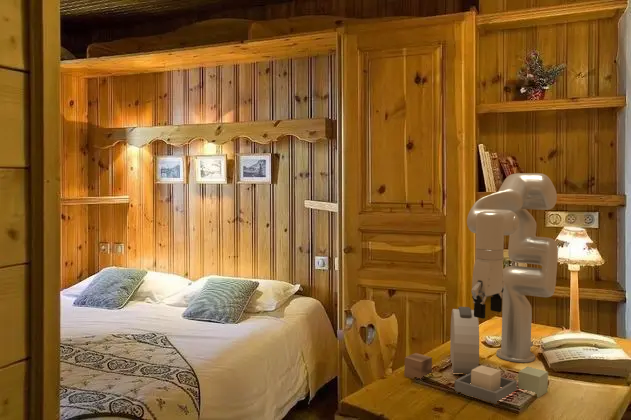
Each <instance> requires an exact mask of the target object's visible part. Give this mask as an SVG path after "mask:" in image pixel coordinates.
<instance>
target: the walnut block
mask: <svg viewBox="0 0 631 420" xmlns="http://www.w3.org/2000/svg"><path fill="white" fill-rule="evenodd" d="M432 366H433V357H431V356H428V355H424V354H421V353H418V352H415V353H412V354H409V355H407V356H404V377H406V378H410V379H413V378H414V377H417V378H420V379H421V378H422V377H423V376H424V375H427V374H429V373H433V367H432ZM413 380H414V379H413Z"/></svg>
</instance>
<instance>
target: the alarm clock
mask: <svg viewBox="0 0 631 420" xmlns="http://www.w3.org/2000/svg"><path fill="white" fill-rule="evenodd" d="M450 317H451V318H450V341H449V342H450V349H449V350H450V364H451V363H452V366H451V371H452V370H453V373H464V374H469V373H471V370H473V369H475V368H477V367H479V366H480V365H479V364H480V325H479V324H480V323H479V318H478V317H474V309H471V307H469V306H458V307H457V308H452V310H451V316H450ZM453 373H452V374H453Z"/></svg>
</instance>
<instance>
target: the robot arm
mask: <svg viewBox="0 0 631 420" xmlns="http://www.w3.org/2000/svg"><path fill="white" fill-rule="evenodd" d="M557 199H558V194H557V190H556V187H555V186H554V183H553V181H552V180H551V179H550V177H549V176H548V175H547V174H544V173H541V172H540V173H538V172H534V173H533V172H532V173H529V172H527V173H526V172H525V173H524V172H521V173H520V172H517V173H512V174H509V175H507V176H506V178H505V179H504V180H503V181H502V184H501V185H500V187H499V189H498V191H495V192H493V193H491V194H488V195H486V196H483V197H480V198H479V199H478V200H476V201H475V202H474V203H473V205H472V206H471V208H470V210H469V212H468V214H467V218H466V224H467V228H468V230H469V231H470V232H471V233H473V234H475V258H474V259H475V261H474V265H473V272H472V280H471V281H472V282H471V283H472V284H471V290H470V291H471V295H472V297H471V298H472V303H473V310H474V317H478V319H486V306H487V305H486V304H485V302H486V300H487V298H488V297H490V309H489V310H490V311H491V312H496V313H501V312H502V313H501V314H502V316H501V341H500V343H501V344H500V345H501V346H500V348H499V349H496V354H495V355H496V356H497V357H498V358H500V359H502V360H505V361H509V362H513V363H531V362H533V361H535V360H536V355H535V354H534V353H533V352H531V349H532V348H531V347H534V343H533V341H532V321H533V320H532V319H533V317H532V316H533V315H532V313H533V311H532V310H533V309H532V305H531V303H530V301H529V300H528V298H527V297H526V296H532V297H537V298H538V297H540V298H550V297H552V296H553V295H554V293H555V290H556V286H557V285H556V284H557V273H558V260H559V258H558V257H559V247H558V242H557V241H556V240H555V239H553V238H552V237H545V236H537V235H536V234H537V225H538V224H537V221H536V220H535V218H534V216H533V215H532V214H531V213H530V212H529V210H539V211H540V210H543V211H545V210H546V211H547V210H551V209H554V208H555V205H556V203H557ZM505 236H509V238H508V247H507V255H508V258H509V260H511V261H512V262H515V263H519V264H526V265H527V264H529V265H530V264H531V265H538V266H541V268H540V267H530V266H523V265H522V266H519V265H510V266H506V267H504V268H503V262H504V249H505V248H504V246H505V245H504V244H505V240H504V239H505Z"/></svg>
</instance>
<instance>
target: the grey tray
mask: <svg viewBox="0 0 631 420" xmlns="http://www.w3.org/2000/svg"><path fill="white" fill-rule="evenodd" d="M470 383H471V373H469V374H467V375H462V376H460V377H459V378H457V379H456V380H455V379H454V390H455V391H457V392H461V393H464V394H466V395H469V396H473V397H477V398H480V399H484V400H487V401H491V403H494V404H496V403H497V401H499V400H500V399H502V398H504V397H506V396H507V395H509V394H511V393H512V392H514V391H516V390H517V391H518V384H517V383H518V381H517V380H514V379H510V378H506V377H503V376H501V382H500V387H502V388H500V389H499V390H497V391H495V392H494V391H491V390H488V389H484V388H481V387H478V386H475V385H471V384H470Z"/></svg>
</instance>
